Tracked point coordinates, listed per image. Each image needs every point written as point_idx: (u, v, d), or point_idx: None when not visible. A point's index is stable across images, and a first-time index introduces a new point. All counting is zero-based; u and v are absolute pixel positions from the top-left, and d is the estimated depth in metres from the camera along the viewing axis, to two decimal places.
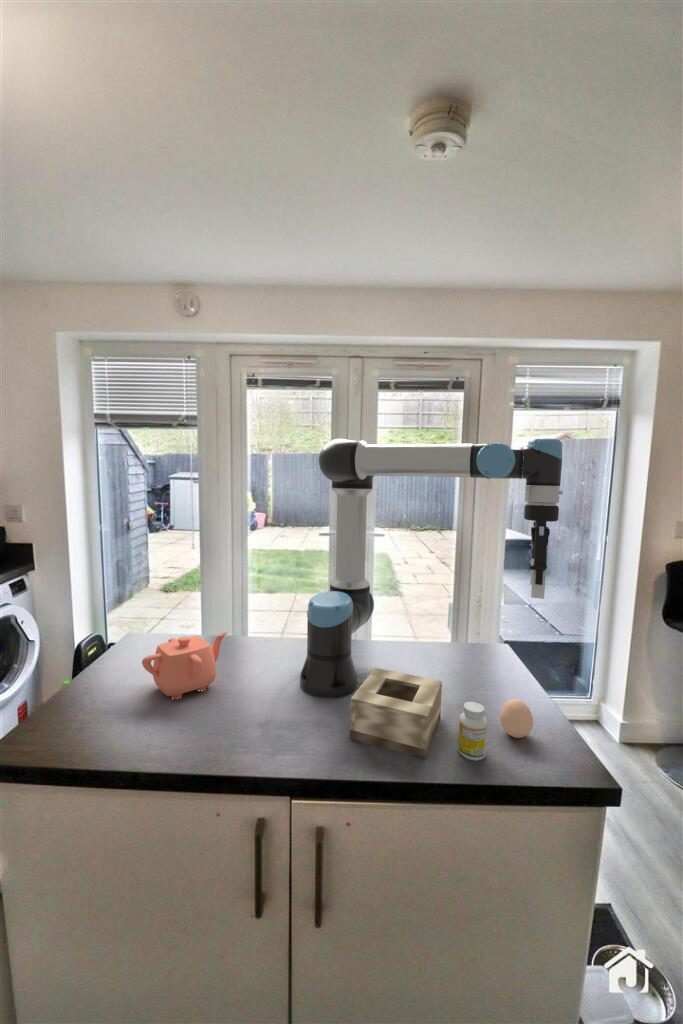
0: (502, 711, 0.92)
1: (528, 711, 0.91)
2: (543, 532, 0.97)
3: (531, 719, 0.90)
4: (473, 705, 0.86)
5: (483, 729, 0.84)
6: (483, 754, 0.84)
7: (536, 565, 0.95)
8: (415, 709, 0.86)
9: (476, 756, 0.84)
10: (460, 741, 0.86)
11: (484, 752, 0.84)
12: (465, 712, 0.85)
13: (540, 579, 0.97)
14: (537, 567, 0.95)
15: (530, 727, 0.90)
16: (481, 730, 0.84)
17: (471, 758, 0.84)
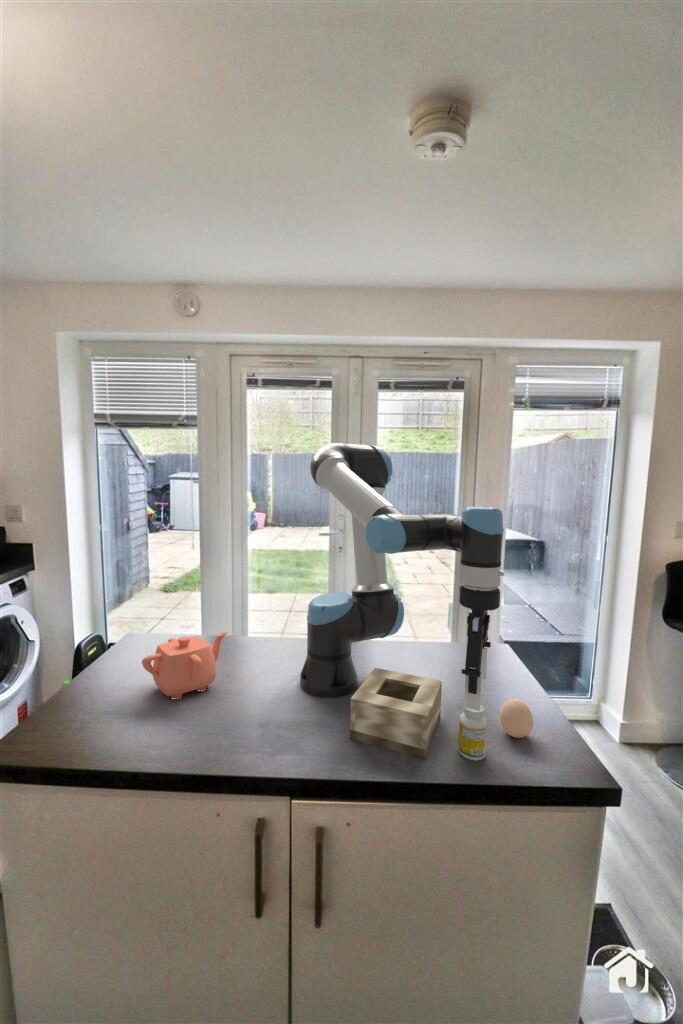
0: (502, 711, 0.92)
1: (528, 711, 0.91)
2: (477, 627, 0.78)
3: (531, 719, 0.90)
4: None
5: (483, 729, 0.84)
6: (483, 754, 0.84)
7: (467, 671, 0.76)
8: (415, 709, 0.86)
9: (476, 756, 0.84)
10: (460, 741, 0.86)
11: (484, 752, 0.84)
12: (465, 712, 0.85)
13: (474, 687, 0.77)
14: (468, 674, 0.76)
15: (530, 727, 0.90)
16: (481, 730, 0.84)
17: (471, 758, 0.84)
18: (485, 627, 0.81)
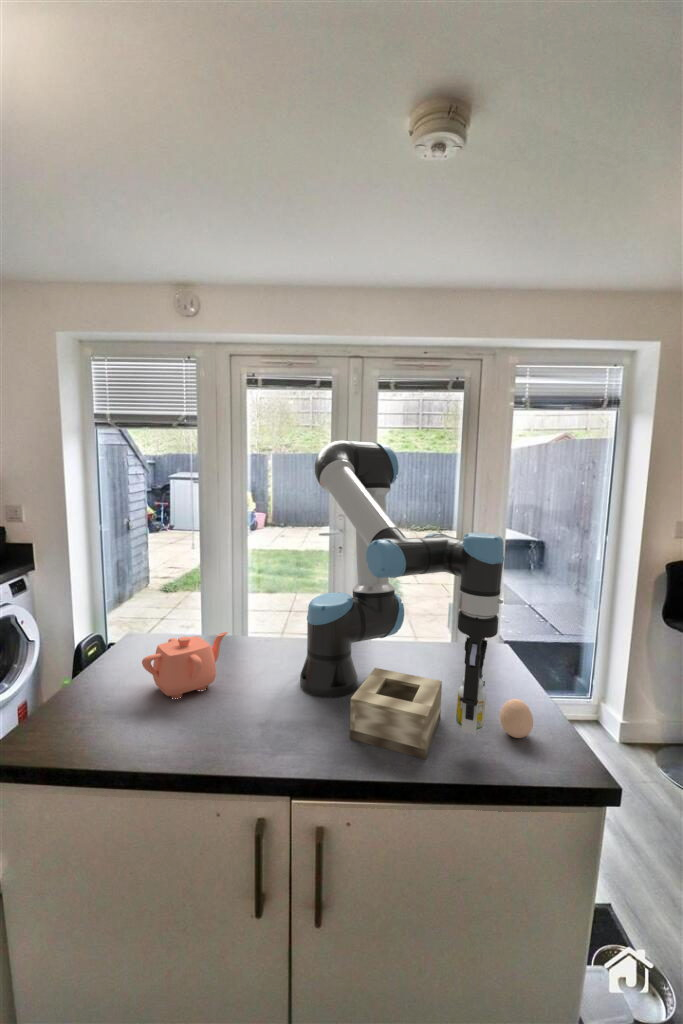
0: (502, 711, 0.92)
1: (528, 711, 0.91)
2: (474, 663, 0.79)
3: (531, 719, 0.90)
4: None
5: (481, 701, 0.84)
6: (481, 726, 0.85)
7: (465, 700, 0.80)
8: (415, 709, 0.86)
9: None
10: (458, 713, 0.86)
11: (481, 725, 0.85)
12: None
13: (471, 714, 0.82)
14: (466, 702, 0.80)
15: (530, 727, 0.90)
16: (480, 702, 0.84)
17: None
18: (482, 656, 0.82)
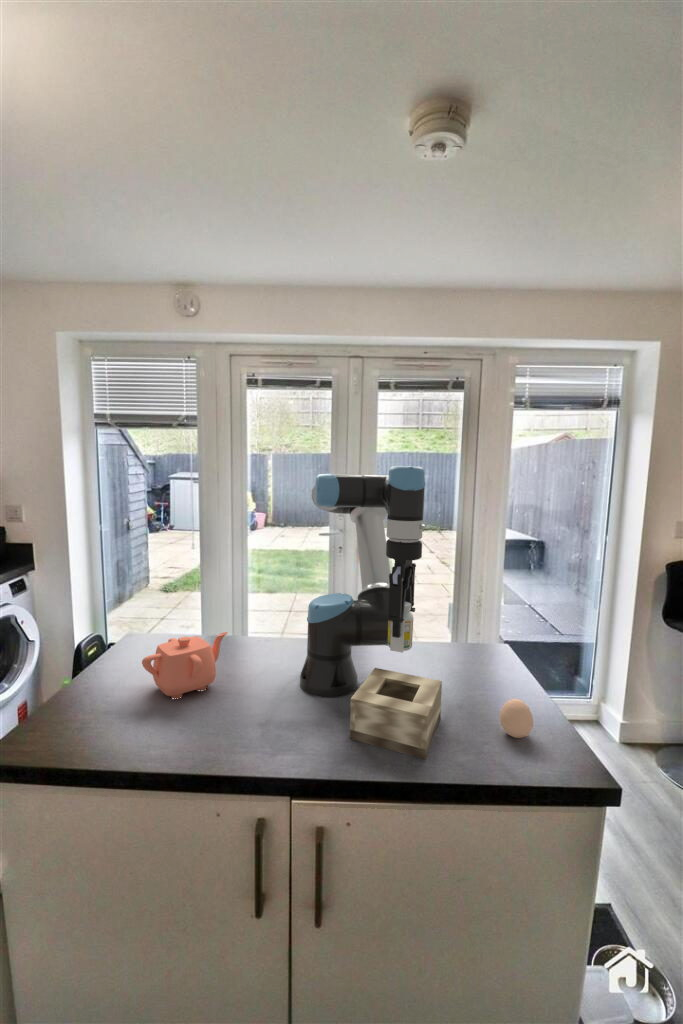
0: (502, 711, 0.92)
1: (528, 711, 0.91)
2: (397, 581, 0.86)
3: (531, 719, 0.90)
4: None
5: (408, 621, 0.90)
6: (408, 645, 0.91)
7: (390, 617, 0.87)
8: (415, 709, 0.86)
9: None
10: (388, 635, 0.92)
11: (409, 644, 0.91)
12: None
13: (397, 632, 0.88)
14: (391, 619, 0.87)
15: (530, 727, 0.90)
16: (406, 622, 0.90)
17: None
18: (407, 578, 0.89)
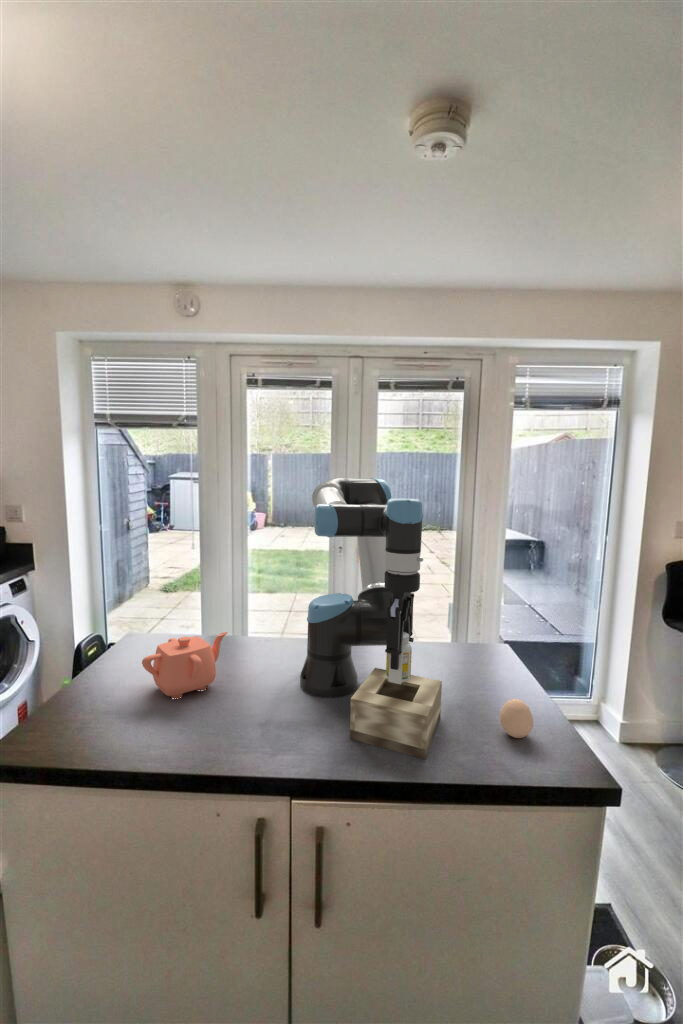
0: (502, 711, 0.92)
1: (528, 711, 0.91)
2: (394, 614, 0.86)
3: (531, 719, 0.90)
4: None
5: (406, 653, 0.91)
6: (407, 677, 0.91)
7: (388, 650, 0.87)
8: (415, 709, 0.86)
9: None
10: (387, 666, 0.93)
11: (407, 675, 0.91)
12: None
13: (395, 664, 0.89)
14: (389, 652, 0.87)
15: (530, 727, 0.90)
16: (405, 654, 0.91)
17: None
18: (405, 610, 0.90)
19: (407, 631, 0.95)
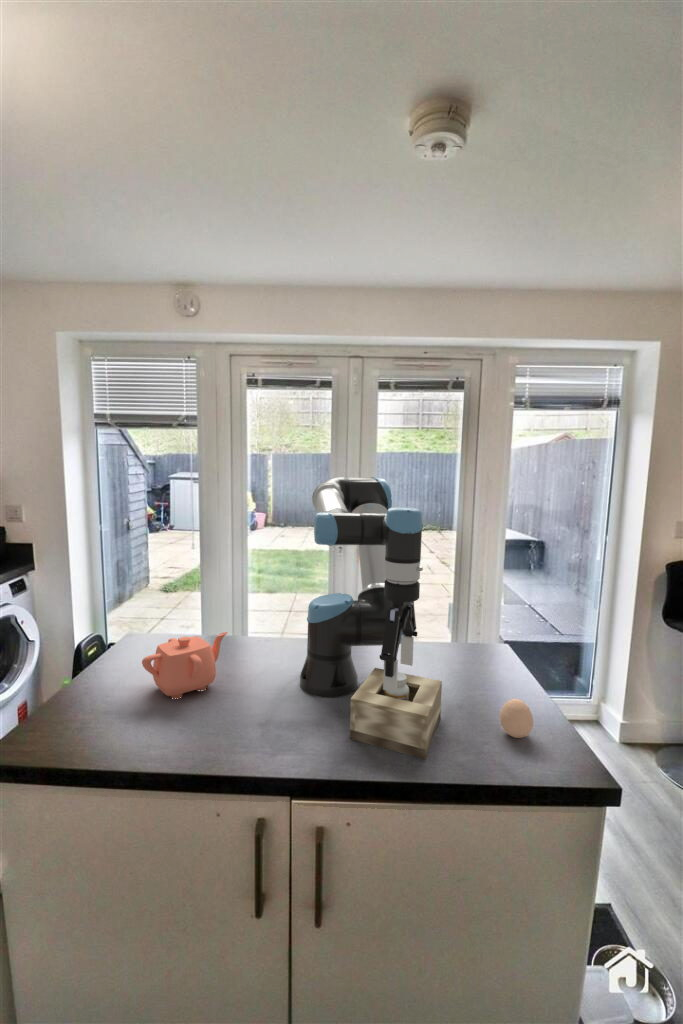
0: (502, 711, 0.92)
1: (528, 711, 0.91)
2: (394, 617, 0.86)
3: (531, 719, 0.90)
4: (397, 675, 0.94)
5: (403, 696, 0.92)
6: None
7: (382, 657, 0.84)
8: (415, 709, 0.86)
9: None
10: None
11: None
12: None
13: (390, 671, 0.85)
14: (383, 659, 0.84)
15: (530, 727, 0.90)
16: (402, 696, 0.91)
17: None
18: (404, 617, 0.89)
19: (410, 630, 0.98)
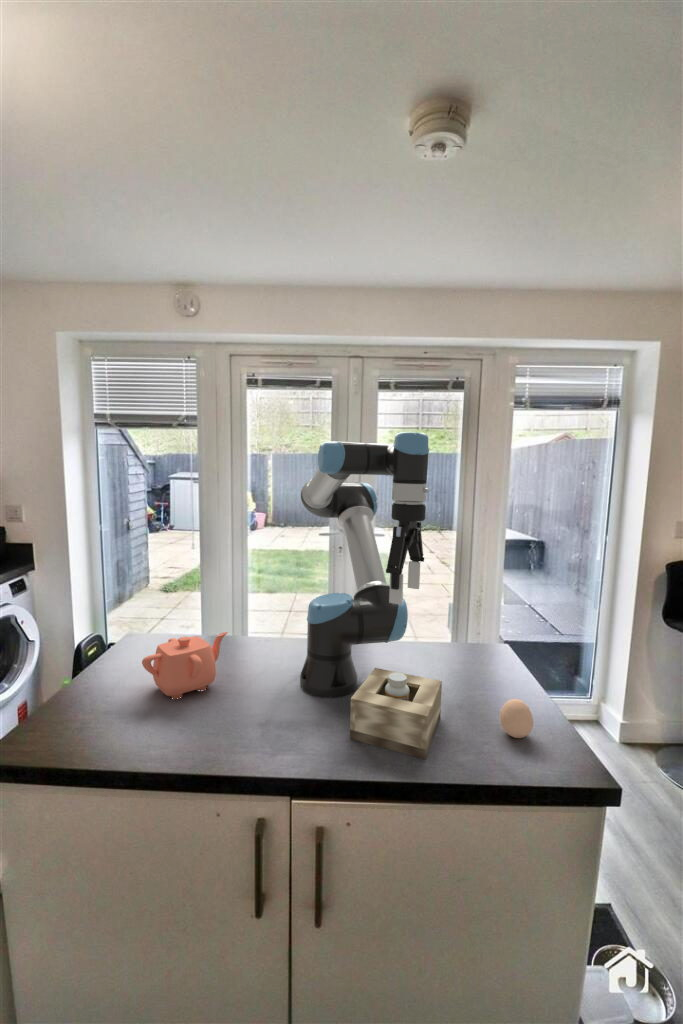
0: (502, 711, 0.92)
1: (528, 711, 0.91)
2: (400, 533, 0.91)
3: (531, 719, 0.90)
4: (397, 675, 0.94)
5: (404, 696, 0.92)
6: None
7: (388, 568, 0.89)
8: (415, 709, 0.86)
9: None
10: None
11: None
12: (389, 681, 0.93)
13: (395, 583, 0.90)
14: (389, 571, 0.89)
15: (530, 727, 0.90)
16: (402, 697, 0.91)
17: None
18: (410, 536, 0.94)
19: (417, 554, 1.02)
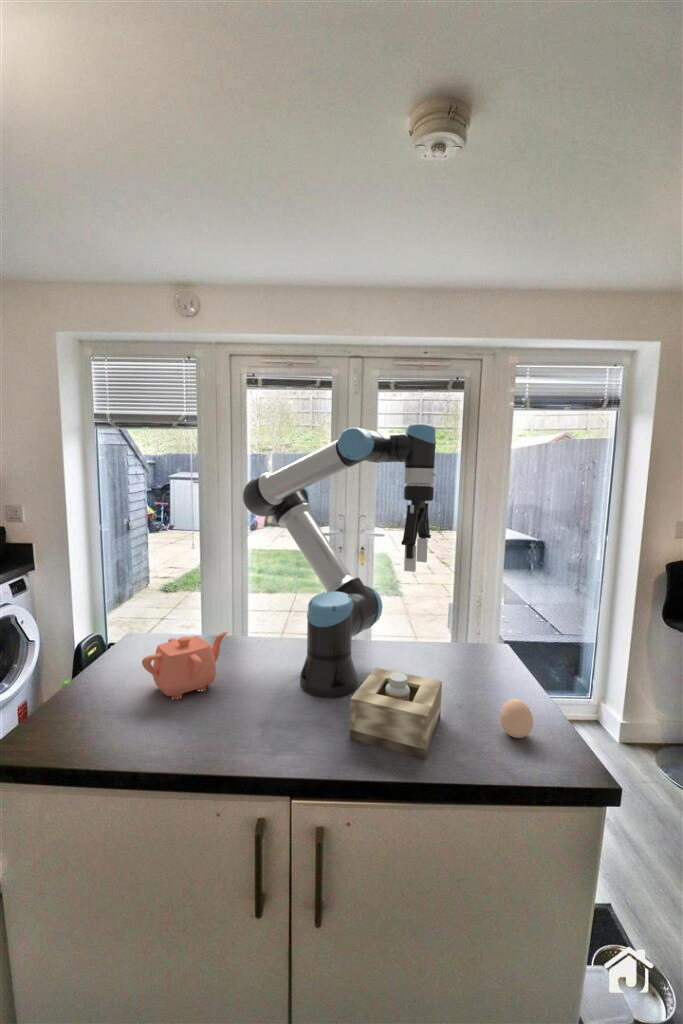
0: (502, 711, 0.92)
1: (528, 711, 0.91)
2: (413, 510, 1.05)
3: (531, 719, 0.90)
4: (398, 675, 0.94)
5: (404, 696, 0.91)
6: None
7: (404, 540, 1.03)
8: (415, 709, 0.86)
9: None
10: None
11: None
12: (389, 681, 0.93)
13: (410, 553, 1.05)
14: (405, 542, 1.03)
15: (530, 727, 0.90)
16: (403, 697, 0.91)
17: None
18: (421, 513, 1.09)
19: (425, 531, 1.17)
